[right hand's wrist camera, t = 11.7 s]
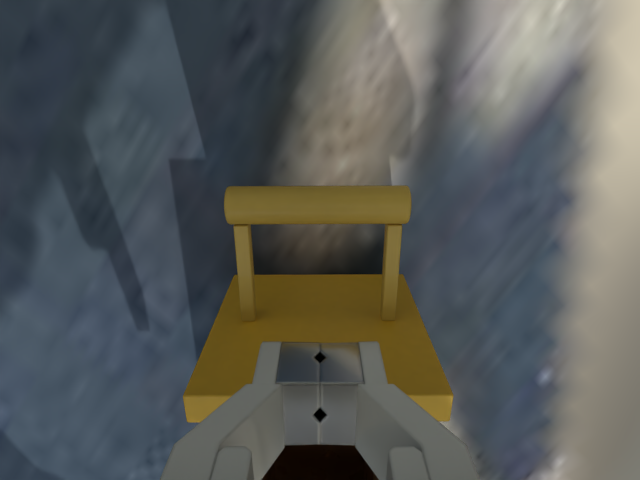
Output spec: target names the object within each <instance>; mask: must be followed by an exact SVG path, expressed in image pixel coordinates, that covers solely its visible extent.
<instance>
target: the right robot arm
mask: <svg viewBox="0 0 640 480" xmlns="http://www.w3.org/2000/svg"><path fill="white" fill-rule="evenodd" d="M316 444H323V445H355V447H356V449H357V450H358V451H359V453H360V454H361V456H362V457H363V458H364V460H365V461H366V463H367V464H368V465H369V467H370V468H371V469H372V471H373V472H374V474H375V475H376V476H377V478H378V479H379V480H480V478H479V475H478V473H477V470H476V468H475V465H474V463H473V460H472V458H471V455H470V453H469V450H468V448H467V445H466V444H464V443H463V442H462V441H461V440H460V439H459V438H457V437H456V436H455V435H454V434H453V433H451V432H450V431H449V430H448V429H447V428H445V427H444V426H443V425H442V424H441V423H440V422H438V421H437V420H436V419H435V418H434V417H432V416H431V415H430V414H429V413H428V412H426V411H425V410H424V409H423V408H422V407H421V406H419V405H418V404H417V403H416V402H415V401H413V400H412V399H411V398H410V397H409V396H407V395H406V394H405V393H404V392H403V391H401V390H400V389H399V388H398V387H397V386H396V385H394V384H388V382H387V377H386V373H385V368H384V364H383V359H382V355H381V351H380V346H379V343H378V342H377V341H369V342H348V343H320V342H262V344H261V346H260V350H259V355H258V359H257V364H256V368H255V373H254V377H253V382H252V384H246V385H244V386H243V387H242V388H241V389H240V390H238V391H237V392H236V393H235V394H234V395H233V396H231V397H230V398H229V399H228V400H227V401H225V402H224V403H223V404H222V405H221V406H219V407H218V408H217V409H216V410H215V411H213V412H212V413H211V414H210V415H209V416H207V417H206V418H205V419H204V420H203V421H201V422H200V423H199V424H198V425H197V426H195V427H194V428H193V429H192V430H191V431H190V432H188V433H187V434H186V435H185V436H184V437H182V438H181V439H180V440H179V441H178V442H176V443H175V444H174V446H173V448H172V451H171V453H170V456H169V458H168V461H167V463H166V466H165V468H164V471H163V473H162V476H161V478H160V480H261V479H262V478H263V477H264V475H265V474H266V473H267V471H268V470H269V468H270V467H271V466H272V464H273V463H274V462H275V460H276V459H277V457H278V456H279V455H280V453H281V452H282V451H283V449H284V448H285V445H316Z"/></svg>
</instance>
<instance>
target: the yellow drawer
mask: <svg viewBox="0 0 640 480" xmlns="http://www.w3.org/2000/svg"><path fill="white" fill-rule="evenodd" d="M224 211H225V217H226V220H227V223H228V224H235V225H234V238H235V249H236V261H237V272H238V275H234V277H233V279H232V281H231V284H230V286H229V288H228V291H227V293H226V295H225V298H224V300H223V303H222V305H221V307H220V310H219V312H218V314H217V317H216V319H215V321H214V324H213V326H212V329H211V331H210V333H209V336H208V338H207V340H206V343H205V345H204V347H203V350H202V352H201V355H200V357H199V359H198V362H197V364H196V366H195V369H194V371H193V374H192V376H191V378H190V381H189V383H188V385H187V388H186V390H185V392H184V395H183V400H184V406H185V412H186V418H187V422H201V421H203V420H204V419H205V418H206V417H207V416H209V415H210V414H211V413H212V412H213V411H215V410H216V409H217V408H218V407H219V406H221V405H222V404H223V403H224V402H225V401H227V400H228V399H229V398H230V397H231V396H233V395H234V394H235V393H236V392H237V391H238V390H240V389H241V388H242V387H243V386H244V385H246V384H252V382H253V377H254V373H255V368H256V364H257V359H258V355H259V350H260V346H261V344H262V342H320V343H348V342H369V341H377V342H378V343H379V346H380V351H381V355H382V359H383V364H384V368H385V373H386V377H387V382H388V384H394V385H396V386H397V387H398V388H399V389H400V390H401V391H403V392H404V393H405V394H406V395H407V396H409V397H410V398H411V399H412V400H413V401H415V402H416V403H417V404H418V405H419V406H421V407H422V408H423V409H424V410H425V411H426V412H428V413H429V414H430V415H431V416H432V417H434V418H435V419H436V420H437V421H449V420H450V414H451V408H452V401H453V393H452V391H451V388H450V386H449V384H448V381H447V379H446V376H445V374H444V372H443V369H442V367H441V364H440V362H439V360H438V357H437V355H436V352H435V350H434V348H433V345H432V343H431V340H430V338H429V336H428V333H427V331H426V328H425V326H424V324H423V321H422V319H421V316H420V314H419V312H418V309H417V307H416V304H415V302H414V300H413V297H412V295H411V292H410V290H409V288H408V285H407V283H406V281H405V278H404V276H403V274H399V262H400V248H401V235H402V225H401V224H406V223H408V221H409V219H410V214H411V193H410V190H409V187H408V186H229V187H227V189H226V191H225V197H224ZM251 224H385V236H384V253H383V270H382V274H333V275H254V265H253V251H252V237H251ZM261 480H379V479H378V478H377V476H376V475H375V474H374V472H373V471H372V469H371V468H370V467H369V465H368V464H367V463H366V461H365V460H364V458H363V457H362V456H361V454H360V453H359V451H358V450H357V449H356V447H355V445H323V444H316V445H285V448H284V449H283V451H282V452H281V453H280V455H279V456H278V457H277V459H276V460H275V462H274V463H273V464H272V466H271V467H270V468H269V470H268V471H267V473H266V474H265V475H264V477H263V478H262V479H261Z"/></svg>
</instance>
